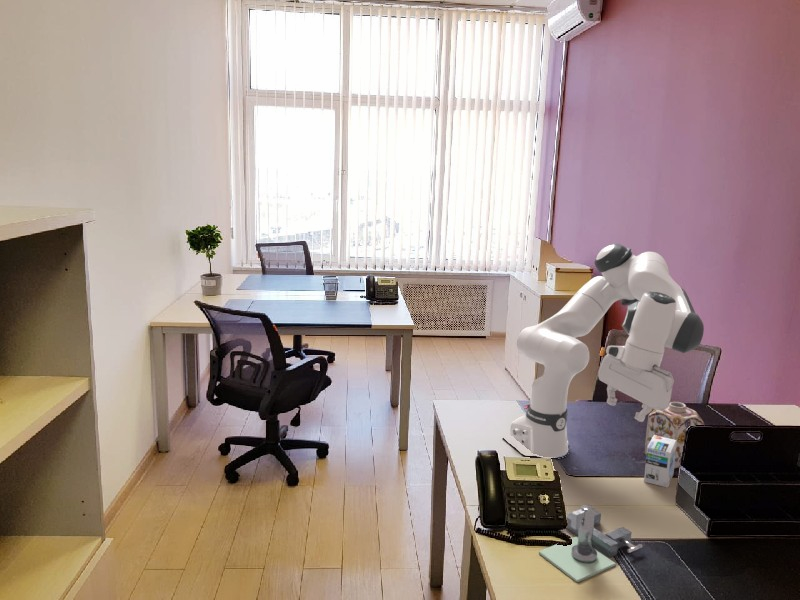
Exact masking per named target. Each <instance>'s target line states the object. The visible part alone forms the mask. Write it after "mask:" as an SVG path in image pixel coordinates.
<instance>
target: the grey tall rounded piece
mask: <svg viewBox="0 0 800 600" xmlns="http://www.w3.org/2000/svg"><path fill="white" fill-rule="evenodd" d="M595 510H596V509H595V508H594V507H593V506H591V505H589V504H588V505H587V504H584V505H583V504H582V505H580V507H579V509H576V510H573V511H572V512H571V513H572V518H571V527H572V528H574V529H575V530H576V529H579V531H578V536H577V537H578V545H575V546H573V547H572V553H571V555H572V557H573V558H574V559H575V560H576V561H578V562H581V563H585V564H590V563H594V562H595V561H596V560H597V552H596V550H597V549H596V548H595V547H593V546H592V541H593V528H595V527H594V515H595Z"/></svg>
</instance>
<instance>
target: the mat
mask: <svg viewBox="0 0 800 600" xmlns="http://www.w3.org/2000/svg"><path fill="white" fill-rule="evenodd" d="M570 539H572V544H571V545H567V546H563V545H557V544H558V543H556V544H554V545H550V546H548V547H545V548H544V549H541V550H539V551H538V554H539V555H540V556H541V557H543V558H544V559H545V560H546V561H548V562H549V563H550V564H552V565H553V566H555V567H556V568H557V569H558V570H560V571H561V572H562V573H564V574H565V575H566V576H568V577H569V578H570V579H571V580H573V581H574V582H575V583H579V582H582V581H585V580H586V579H588V578H591V577H594V576H595V575H598V574H599V573H601V572H604V571H606V570H609V569H611V568H613V567H615V566H616V562H614V561H613V560H611V558H610V557H608V556H607V555H605V554H604V553H602V552H601V551H599V550H598V549H595V550H596V552H597V560H596V561H595V562H594V563H590V564H585V563H581V562H578V561H576V560H575V559H574V558H573V557H572V555H571V553H572V547H573V546H575V545H578V536H573V537H571V538H570Z"/></svg>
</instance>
